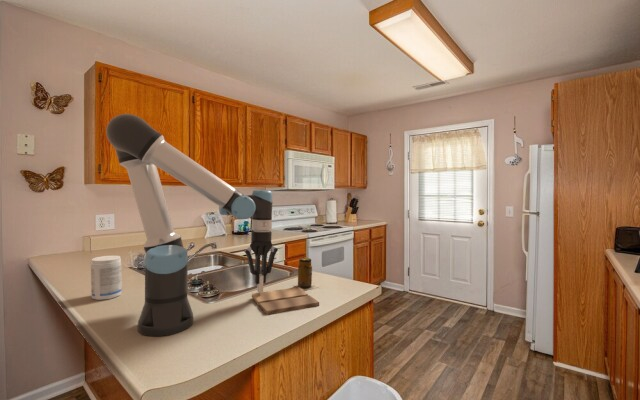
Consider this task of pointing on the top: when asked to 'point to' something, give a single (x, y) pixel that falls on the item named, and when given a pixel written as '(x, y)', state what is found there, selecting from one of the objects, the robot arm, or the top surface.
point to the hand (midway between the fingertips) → (260, 291)
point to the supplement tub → (106, 277)
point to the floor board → (288, 304)
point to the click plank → (278, 295)
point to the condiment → (305, 274)
